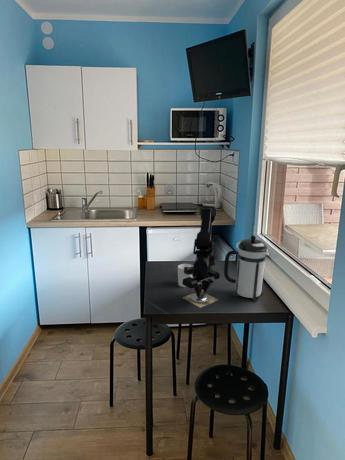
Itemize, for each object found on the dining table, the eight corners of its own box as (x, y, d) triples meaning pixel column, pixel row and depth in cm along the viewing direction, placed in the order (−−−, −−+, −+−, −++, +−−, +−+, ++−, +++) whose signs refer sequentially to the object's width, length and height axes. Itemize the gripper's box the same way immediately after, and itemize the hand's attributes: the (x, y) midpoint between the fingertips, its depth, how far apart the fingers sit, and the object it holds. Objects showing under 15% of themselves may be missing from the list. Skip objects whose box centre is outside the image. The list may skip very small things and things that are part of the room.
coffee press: (255, 287, 167) (260, 229, 159) (269, 302, 151) (276, 239, 143) (222, 289, 164) (226, 230, 156) (233, 304, 148) (238, 240, 140)
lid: (200, 291, 158) (200, 283, 157) (214, 298, 152) (214, 289, 150) (186, 297, 152) (187, 288, 151) (200, 304, 146) (201, 295, 145)
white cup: (191, 289, 163) (192, 270, 160) (175, 287, 164) (176, 268, 161) (193, 282, 170) (194, 264, 167) (178, 281, 172) (179, 263, 169)
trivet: (200, 291, 160) (200, 290, 160) (218, 300, 152) (218, 299, 152) (182, 298, 153) (182, 297, 153) (200, 308, 144) (200, 307, 144)
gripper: (203, 254, 159) (202, 284, 163) (174, 263, 148) (173, 295, 152) (221, 261, 151) (219, 292, 155) (191, 270, 139) (190, 304, 144)
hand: (200, 295), depth 152 cm, fingers closed on lid, 3 cm apart
